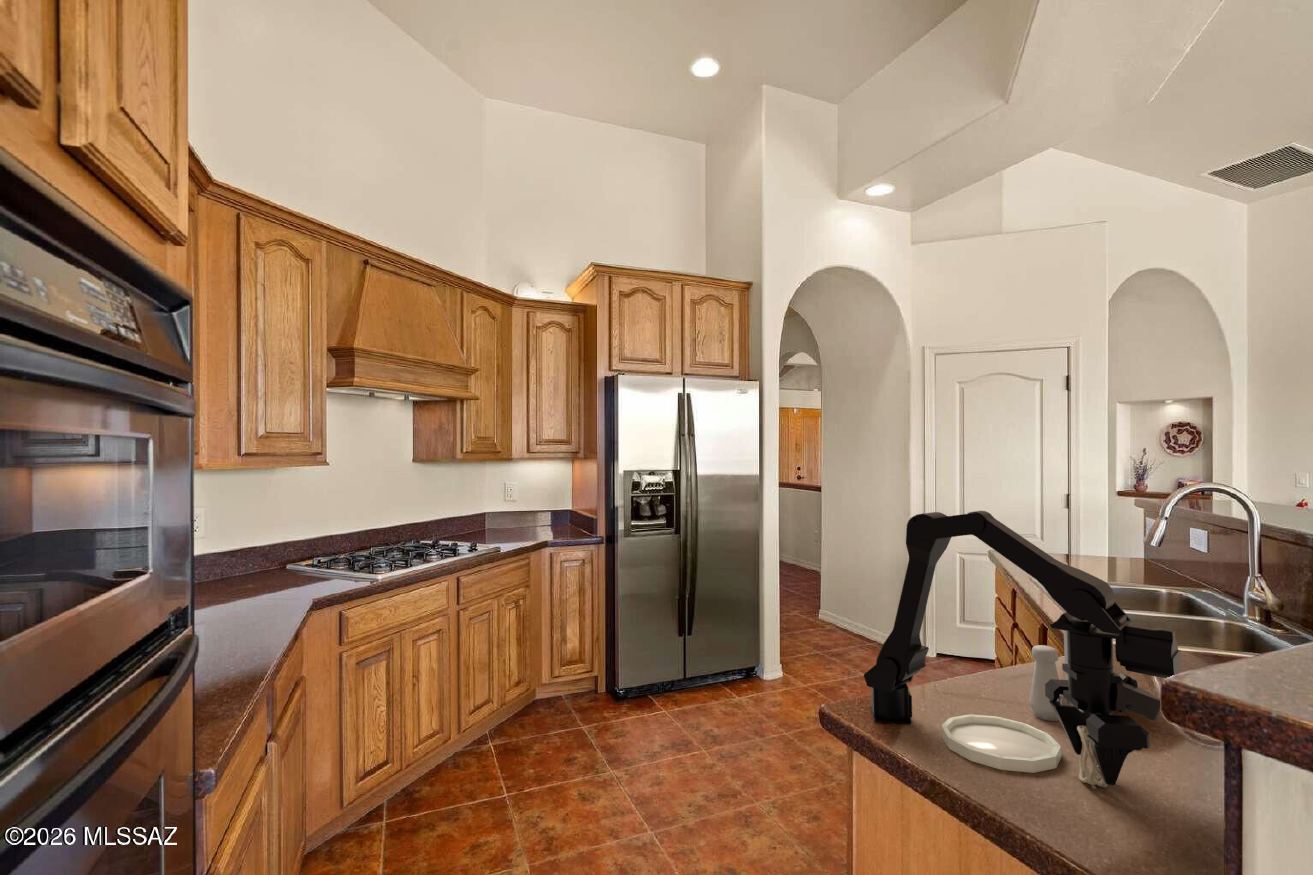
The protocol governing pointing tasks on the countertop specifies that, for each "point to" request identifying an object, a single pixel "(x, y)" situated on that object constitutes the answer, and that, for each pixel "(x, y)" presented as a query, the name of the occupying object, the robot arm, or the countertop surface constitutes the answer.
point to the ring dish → (1001, 743)
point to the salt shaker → (1043, 681)
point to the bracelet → (1092, 774)
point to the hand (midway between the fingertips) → (1094, 768)
